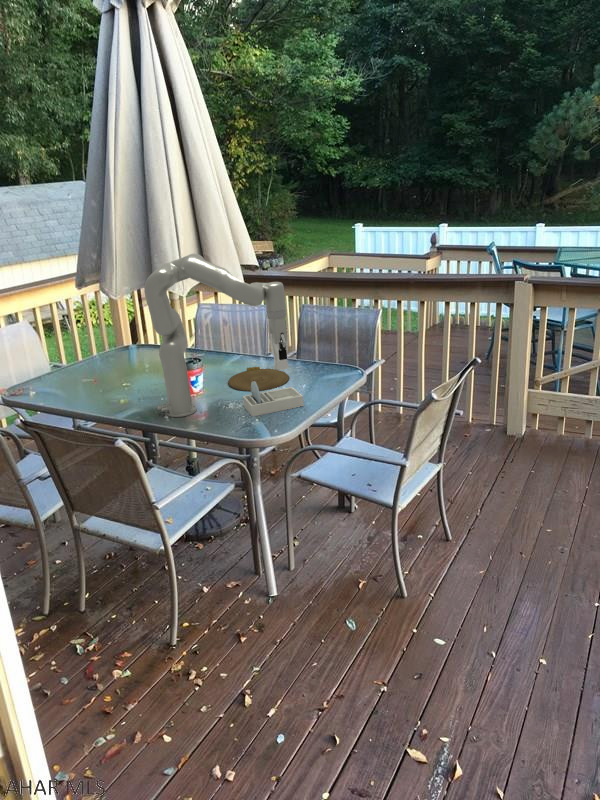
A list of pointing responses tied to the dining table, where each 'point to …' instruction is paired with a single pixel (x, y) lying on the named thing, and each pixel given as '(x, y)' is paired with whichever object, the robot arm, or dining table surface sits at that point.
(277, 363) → the beer glass
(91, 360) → the dining table surface
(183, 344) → the robot arm
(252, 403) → the rack
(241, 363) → the dining table surface
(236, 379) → the decorative disc
